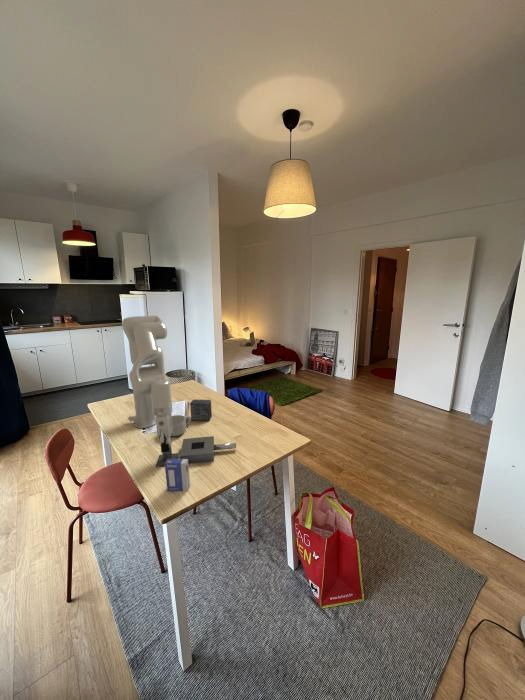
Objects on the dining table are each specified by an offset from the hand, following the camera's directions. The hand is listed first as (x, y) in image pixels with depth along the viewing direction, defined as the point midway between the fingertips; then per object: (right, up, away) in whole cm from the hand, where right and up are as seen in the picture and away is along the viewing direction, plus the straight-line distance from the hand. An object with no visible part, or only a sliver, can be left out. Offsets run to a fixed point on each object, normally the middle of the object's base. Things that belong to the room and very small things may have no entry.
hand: (166, 448), depth 123 cm
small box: (+7, +3, +40) cm, 41 cm away
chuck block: (+17, -4, +7) cm, 19 cm away
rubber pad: (0, -6, +1) cm, 6 cm away
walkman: (+10, -10, -16) cm, 21 cm away
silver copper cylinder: (0, -4, +1) cm, 4 cm away
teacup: (-2, -1, +25) cm, 25 cm away
